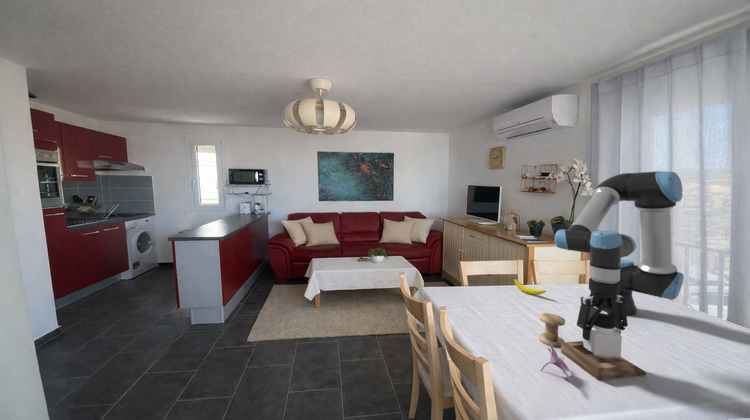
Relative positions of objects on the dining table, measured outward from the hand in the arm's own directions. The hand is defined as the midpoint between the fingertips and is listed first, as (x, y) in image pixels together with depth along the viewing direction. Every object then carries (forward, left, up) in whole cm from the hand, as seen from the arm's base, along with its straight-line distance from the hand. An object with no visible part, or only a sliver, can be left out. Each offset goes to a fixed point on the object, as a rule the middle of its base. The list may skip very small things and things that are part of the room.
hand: (601, 347), depth 89 cm
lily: (+18, +3, -6) cm, 19 cm away
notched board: (0, 0, -5) cm, 5 cm away
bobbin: (+6, -14, -5) cm, 16 cm away
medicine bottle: (0, 0, -1) cm, 1 cm away
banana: (-17, -59, -5) cm, 62 cm away
